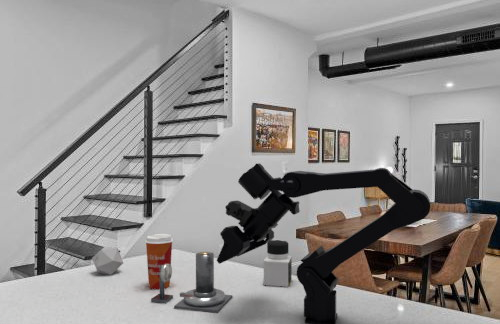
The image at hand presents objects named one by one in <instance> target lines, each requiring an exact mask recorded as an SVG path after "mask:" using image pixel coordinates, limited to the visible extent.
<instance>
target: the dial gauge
mask: <svg viewBox="0 0 500 324" xmlns="http://www.w3.org/2000/svg"><path fill="white" fill-rule="evenodd" d="M172 274H173V267H172V264H171V265H170V264H164V265H160V289H159V293H158V294H156V295H155V296H153V297H152V298H151V299H150V302H151V303H155V304H167V303H168V302H170V301H171V300H173V299H174V298H173V297H174V295H173V294H166V292H165V290H166V288H165V285H164V282H168V281H169V280H170V281H171V278H172V276H173V275H172Z"/></svg>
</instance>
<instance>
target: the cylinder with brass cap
mask: <svg viewBox="0 0 500 324" xmlns="http://www.w3.org/2000/svg"><path fill="white" fill-rule="evenodd" d="M214 261H215V253H214V252H210V251H202V252H201V251H200V252H197V253H195V288H194V291H193V293H194V296H195V297H197V298H211V297H214V296H216V289H217V288H215V271H214V270H215V269H214V268H215V267H214V266H215V262H214Z"/></svg>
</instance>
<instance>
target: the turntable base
mask: <svg viewBox="0 0 500 324" xmlns="http://www.w3.org/2000/svg"><path fill="white" fill-rule="evenodd" d="M233 297H234V296H233V294H225V300H224V301H223V302H222V303H220V304H217V305H212V306H192V305H189V304H186V303H185V302H184V298H182V299H181V300H180V301H179V302H177V303H176V304H174V305H173V309H176V310H185V311H194V312H205V313H215V314H218V313H219V312H221V310H222V309H223V308H224V307H225V306H226V305H227V304H228V303H229V302H230V301H231V300H232V299H233Z"/></svg>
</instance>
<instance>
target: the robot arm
mask: <svg viewBox="0 0 500 324" xmlns="http://www.w3.org/2000/svg"><path fill="white" fill-rule="evenodd" d="M237 182H238V184H239V185H240V186H241V188H243V189H244V190H245V191H246V192H247V194H249V196H250V197H251V198H252V199H253V200H257V199H259V200H263V201H261V203H260V204H259V205H258V206H257V207H256V208H255V207H254V208H253V207H252V206H250V205H248V204H246V203H244V202H242V201H240V200H230V201H229V202H228V204H227V205H225V214H226V215H227V216H229V217H232V218H234V219H235V220H237V221H238V223H237V224H238V225H239V226H240V227H241V228H242V229H241V228H240V227H239V226H238V225H229V226H226V227H224V228H223V229H222V230H221V232H220V234H219V235H220V237H221V239H222V241H223V245H222V248H221V250H220V251H219V254H218V257H217V259H216V262H217V263H218V264H219V265H220V264H222V263H225V262H227V261H229V260H231V259H234V258H236V257H240V256H242V255H244V254H246V253H249V252H251V251H253V250H256V249H258V248H260V247H263V246H265V245H267V243H268V242H270V241H271V240H274V238H275V231H273V229H274V228H277V226H278V225H279V224H278V222H279V221H281V220H282V219H283V217H285V216H286V214H287V213H288V212H290V213H291V214H292V215H296V214H297V215H298V214H299V213H300V212H301V210H300V206H299V205H300V201H299V200H298V201H297V200H296V201H294V200H293V199H294V198H299V197H303V196H307V195H310V194H311V195H312V194H315V193H319V192H322V191H334V190H335V191H336V190H350V189H363V188H364V189H365V188H378V189H379V190H380V191H381V192H382V193H384V194H385V195H386V196H387V197H388V198H389V199H390V200H391V201H393V204H392V205H391V206H390V207H389V208H388V209H387V210H386V211H385V212H384V213H383V214H381V215H380V216H378V217H377V218H376V219H373V220H372V221H371V222H369V223H368V224H366V225H365V226H363V227H362V228H360V229H359V230H357V231H356V232H354V233H353V234H351V235H350V236H348V237H347V238H345V239H344V240H342V241H340V242H339V243H338V244H336V245H334V246H333V247H330V248H327V249H324V247H323V245H320V246H319V247H318V248H316V250H314V251H313V252H310V253H307V254H306V255H305V256H304V257H303V258H301V259H300V262H301V263H300V264H299V265H298V266H297V268H296V278H297V279H298V282H299V283H300V285H302V286H303V290H304V293H305V295H304V298H303V317H304V318H305V320H304V323H306V324H337V320H338V319H337V318H338V313H337V290H335V288H336V287H337V284H338V283H339V278H338V277H337V276H336V275H335V274H334V271H335V270H336V269H337V268H338V267H339V266H340V265H341V264H343V263H345V262H346V261H347V260H349V259H351V258H352V257H354V256H355V255H357V254H358V253H360V252H361V251H363V250H365V249H366V248H368V247H369V246H371V245H372V244H374V243H376V242H377V241H379V240H380V239H382V238H383V237H385V236H386V235H389V234H390V233H391V232H393V231H395V230H399V229H402V228H405V227H407V226H411V225H413V224H414V223H417V222H420V221H423V220H424V219H425V218H427V216H429V214H430V212H431V201H430V198H429V195H427V194H426V193H425V192H424V191H422V190H419V189H413V188H411V187H410V186H409V185H407V183H405V182H403V180H401V179H399V178H398V177H397V176H395V175H394V174H392V173H391V171H390V170H389V169H388V168H386V167H379V168H375V169H365V170H355V171H343V172H342V171H340V172H330V173H329V172H328V173H325V172H324V173H323V172H314V171H303V170H296V171H288V172H287V173H285V174H284V175H283V176H282V178H281V176H279V177H273V176H272V175H271V174H270V173H269V172H268V171H267V170H266V169H265V167H264V166H263V165H262V164H261V163H255V165H253V166H252V167H251V168H249V169H248V170H247V171H246V172H244V173H242V175H241V176H240V177H239V179H238V181H237ZM282 192H283V193H282Z"/></svg>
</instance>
